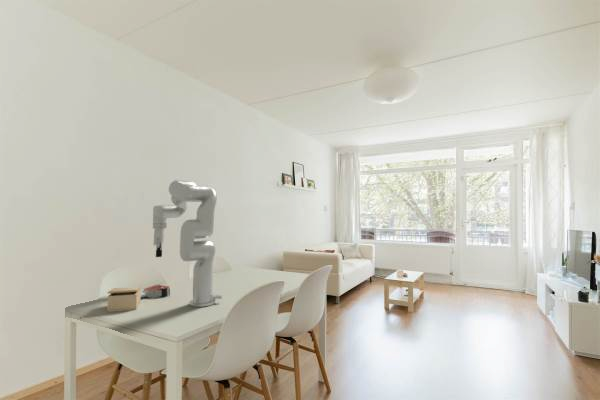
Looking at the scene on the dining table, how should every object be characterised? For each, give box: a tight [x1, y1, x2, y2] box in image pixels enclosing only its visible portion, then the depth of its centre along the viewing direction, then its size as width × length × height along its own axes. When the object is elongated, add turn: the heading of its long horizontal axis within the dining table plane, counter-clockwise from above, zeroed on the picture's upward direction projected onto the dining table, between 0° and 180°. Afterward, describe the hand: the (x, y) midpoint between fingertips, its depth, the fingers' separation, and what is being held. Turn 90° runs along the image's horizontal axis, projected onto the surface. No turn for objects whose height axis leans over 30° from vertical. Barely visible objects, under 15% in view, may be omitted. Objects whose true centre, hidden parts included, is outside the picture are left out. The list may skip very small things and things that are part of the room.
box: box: [106, 289, 141, 313], centre depth 155 cm, size 12×12×7 cm
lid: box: [107, 286, 141, 294], centre depth 155 cm, size 12×12×1 cm
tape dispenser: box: [140, 284, 171, 299], centre depth 174 cm, size 18×5×20 cm
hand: (158, 256), depth 191 cm, fingers closed
